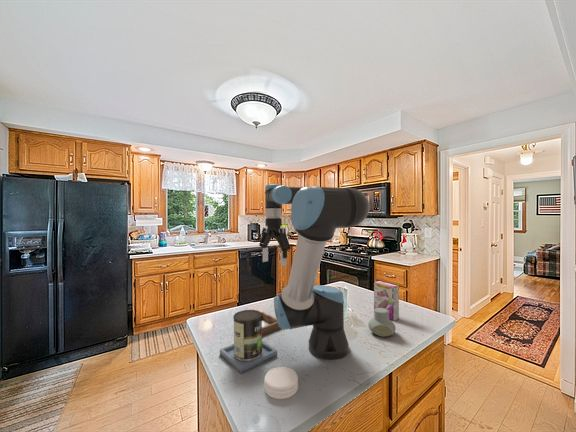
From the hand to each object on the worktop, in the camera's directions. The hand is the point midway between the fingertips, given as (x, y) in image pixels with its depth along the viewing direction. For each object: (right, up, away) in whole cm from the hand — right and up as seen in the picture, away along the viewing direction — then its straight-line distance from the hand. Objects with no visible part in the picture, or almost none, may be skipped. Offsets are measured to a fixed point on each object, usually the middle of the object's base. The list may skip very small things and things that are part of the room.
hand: (274, 263), depth 115 cm
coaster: (+4, -29, -42) cm, 51 cm away
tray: (-8, -29, -25) cm, 39 cm away
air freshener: (+47, -28, -10) cm, 55 cm away
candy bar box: (+55, -28, +8) cm, 63 cm away
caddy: (-7, -29, -2) cm, 30 cm away
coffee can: (-8, -28, -25) cm, 39 cm away
